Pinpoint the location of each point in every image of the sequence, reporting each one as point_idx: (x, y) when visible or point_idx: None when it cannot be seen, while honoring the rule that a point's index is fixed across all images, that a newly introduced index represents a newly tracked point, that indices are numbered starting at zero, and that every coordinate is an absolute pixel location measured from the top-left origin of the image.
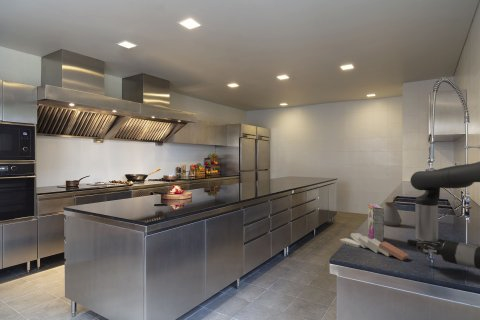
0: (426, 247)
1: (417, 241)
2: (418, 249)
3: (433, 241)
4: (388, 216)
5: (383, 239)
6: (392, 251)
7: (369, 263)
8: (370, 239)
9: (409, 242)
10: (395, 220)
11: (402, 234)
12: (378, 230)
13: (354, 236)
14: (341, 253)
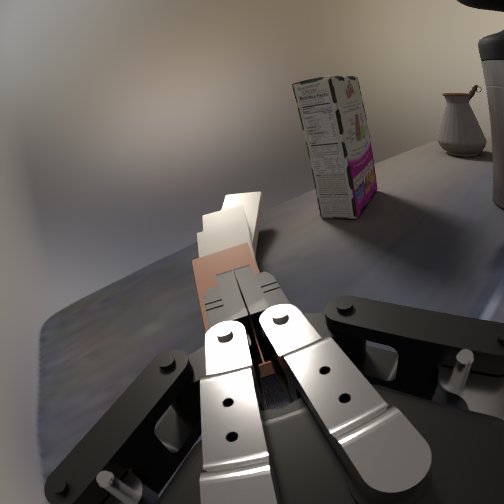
0: (53, 490)
1: (242, 312)
2: (164, 419)
3: (435, 327)
4: (450, 129)
5: (354, 209)
6: (205, 321)
7: (68, 369)
8: (212, 229)
9: (206, 303)
10: (467, 140)
11: (465, 181)
12: (330, 173)
13: (222, 208)
14: (107, 289)
